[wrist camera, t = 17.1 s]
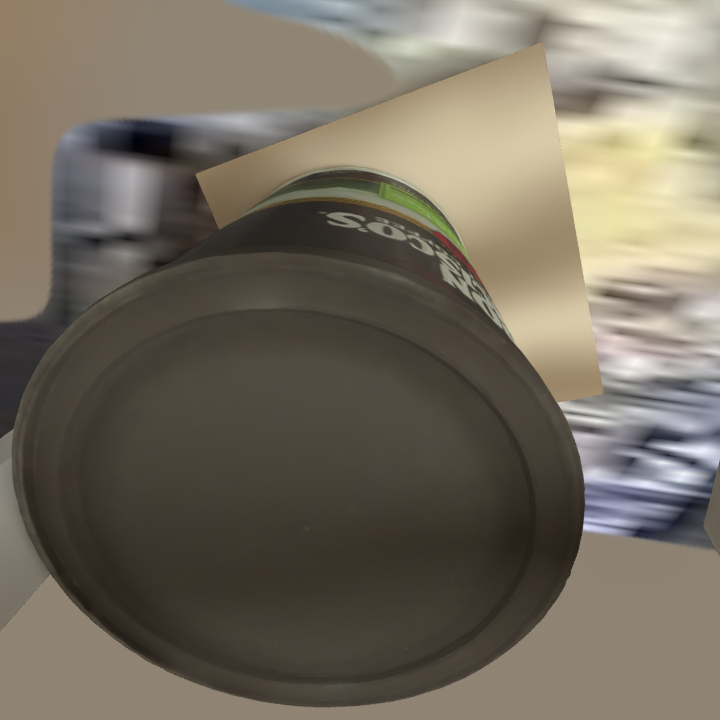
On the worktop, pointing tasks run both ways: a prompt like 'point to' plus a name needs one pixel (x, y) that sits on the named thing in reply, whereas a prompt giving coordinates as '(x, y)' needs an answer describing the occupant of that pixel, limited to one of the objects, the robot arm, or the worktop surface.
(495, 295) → the birch block
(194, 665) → the coffee can
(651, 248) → the worktop surface
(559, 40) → the worktop surface
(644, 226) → the worktop surface
